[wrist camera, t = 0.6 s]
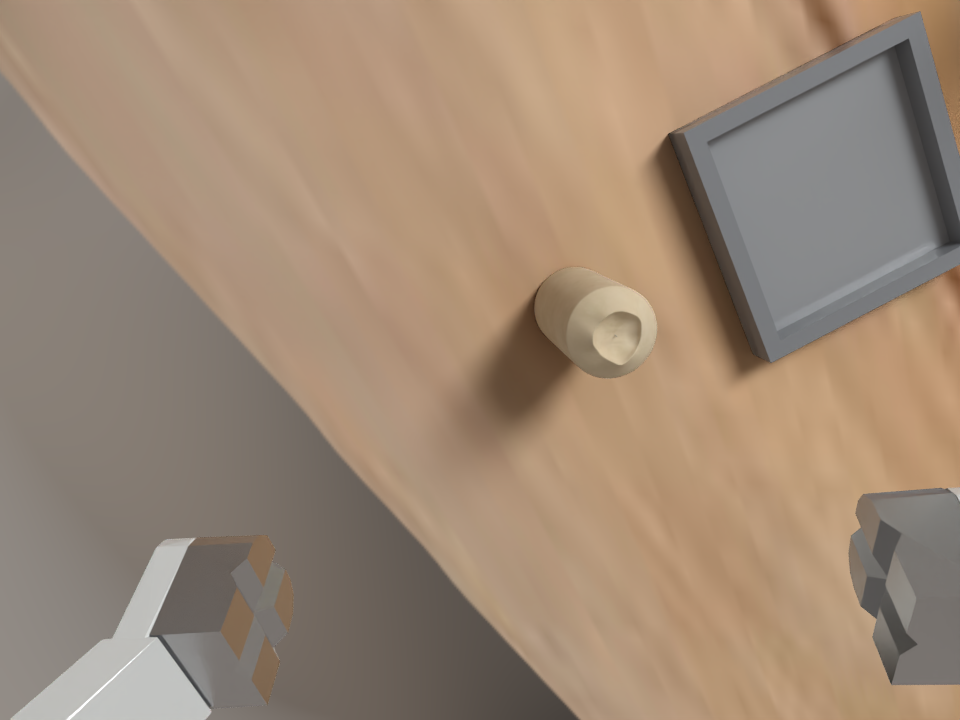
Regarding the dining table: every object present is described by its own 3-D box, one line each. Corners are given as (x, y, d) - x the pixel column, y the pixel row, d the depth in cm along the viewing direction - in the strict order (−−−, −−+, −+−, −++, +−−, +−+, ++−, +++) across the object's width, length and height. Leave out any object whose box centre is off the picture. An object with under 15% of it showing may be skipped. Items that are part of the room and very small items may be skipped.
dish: (668, 133, 51) (683, 132, 48) (893, 18, 51) (920, 11, 49) (753, 354, 56) (770, 363, 53) (958, 247, 56) (985, 251, 54)
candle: (609, 343, 54) (663, 383, 44) (532, 346, 53) (570, 387, 44) (613, 265, 53) (670, 288, 43) (533, 266, 52) (574, 291, 42)
